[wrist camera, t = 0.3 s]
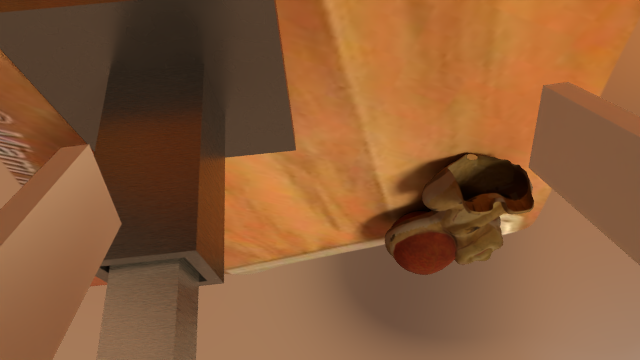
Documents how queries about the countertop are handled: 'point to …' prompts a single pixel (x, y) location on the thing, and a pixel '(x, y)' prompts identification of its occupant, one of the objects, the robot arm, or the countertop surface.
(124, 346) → the column
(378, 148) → the countertop surface
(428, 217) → the beige sneaker
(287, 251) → the countertop surface
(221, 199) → the stand
